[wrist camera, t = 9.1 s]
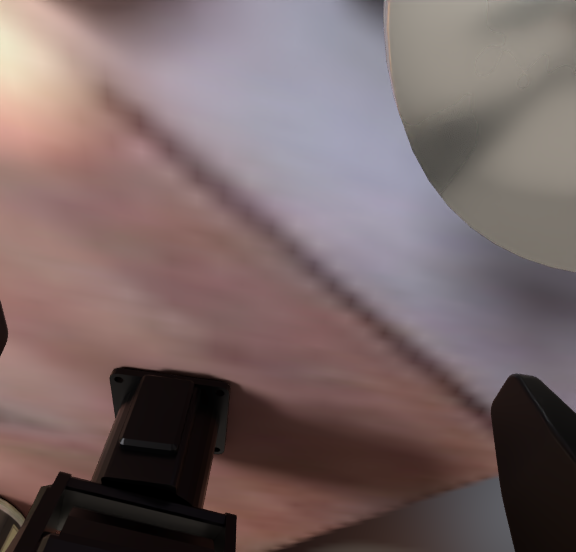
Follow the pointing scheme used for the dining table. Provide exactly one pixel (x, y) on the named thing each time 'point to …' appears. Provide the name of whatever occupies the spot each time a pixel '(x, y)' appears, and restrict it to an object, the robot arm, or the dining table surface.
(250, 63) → the dining table surface
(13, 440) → the dining table surface
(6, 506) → the coffee can
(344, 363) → the dining table surface
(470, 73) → the lid
